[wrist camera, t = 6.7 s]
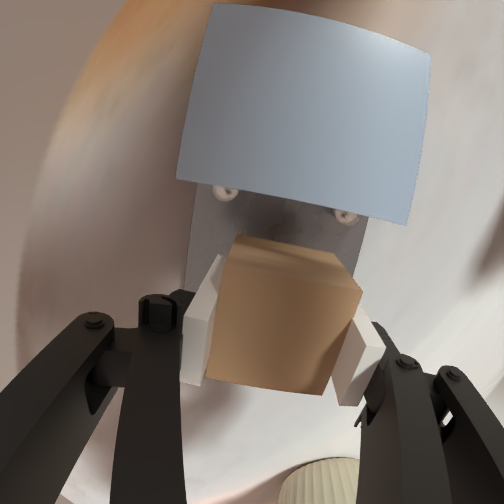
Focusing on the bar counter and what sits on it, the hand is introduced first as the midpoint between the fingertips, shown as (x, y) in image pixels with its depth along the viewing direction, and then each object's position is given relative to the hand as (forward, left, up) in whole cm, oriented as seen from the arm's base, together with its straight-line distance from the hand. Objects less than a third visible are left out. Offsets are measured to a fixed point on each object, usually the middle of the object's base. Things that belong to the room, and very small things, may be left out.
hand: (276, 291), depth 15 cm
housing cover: (-10, 0, -7) cm, 12 cm away
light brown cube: (0, 0, 0) cm, 0 cm away
